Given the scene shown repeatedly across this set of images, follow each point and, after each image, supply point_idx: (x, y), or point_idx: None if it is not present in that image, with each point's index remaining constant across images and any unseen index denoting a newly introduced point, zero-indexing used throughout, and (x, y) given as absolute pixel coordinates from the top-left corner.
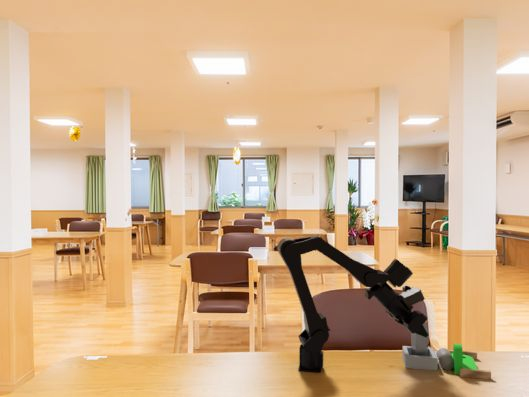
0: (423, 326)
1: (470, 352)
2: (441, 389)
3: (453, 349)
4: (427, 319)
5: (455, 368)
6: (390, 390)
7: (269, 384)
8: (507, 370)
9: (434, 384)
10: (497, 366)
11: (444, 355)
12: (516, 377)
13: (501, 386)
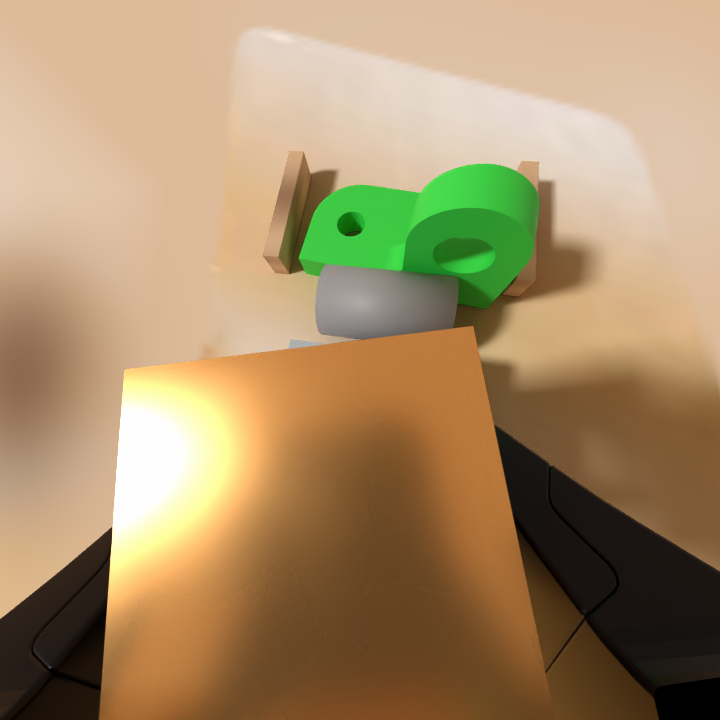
0: (576, 484)
1: (297, 175)
2: (699, 428)
3: (425, 240)
4: (462, 336)
5: (496, 295)
6: None
7: None
8: (419, 112)
9: (642, 445)
10: (382, 131)
11: (436, 311)
12: (485, 104)
13: (589, 175)
